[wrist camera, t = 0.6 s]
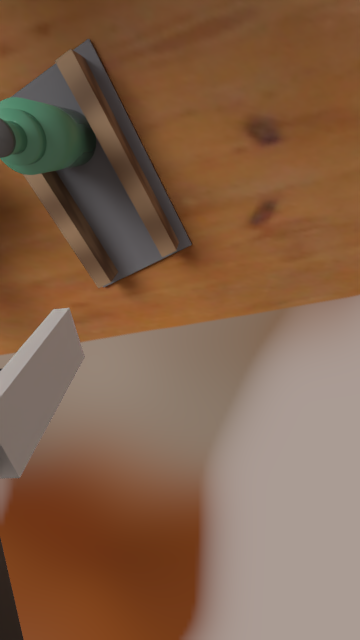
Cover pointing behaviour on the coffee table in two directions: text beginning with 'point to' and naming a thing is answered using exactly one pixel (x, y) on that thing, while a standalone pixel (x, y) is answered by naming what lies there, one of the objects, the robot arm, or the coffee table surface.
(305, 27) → the coffee table surface
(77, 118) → the bottle
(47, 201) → the rest
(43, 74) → the mat
